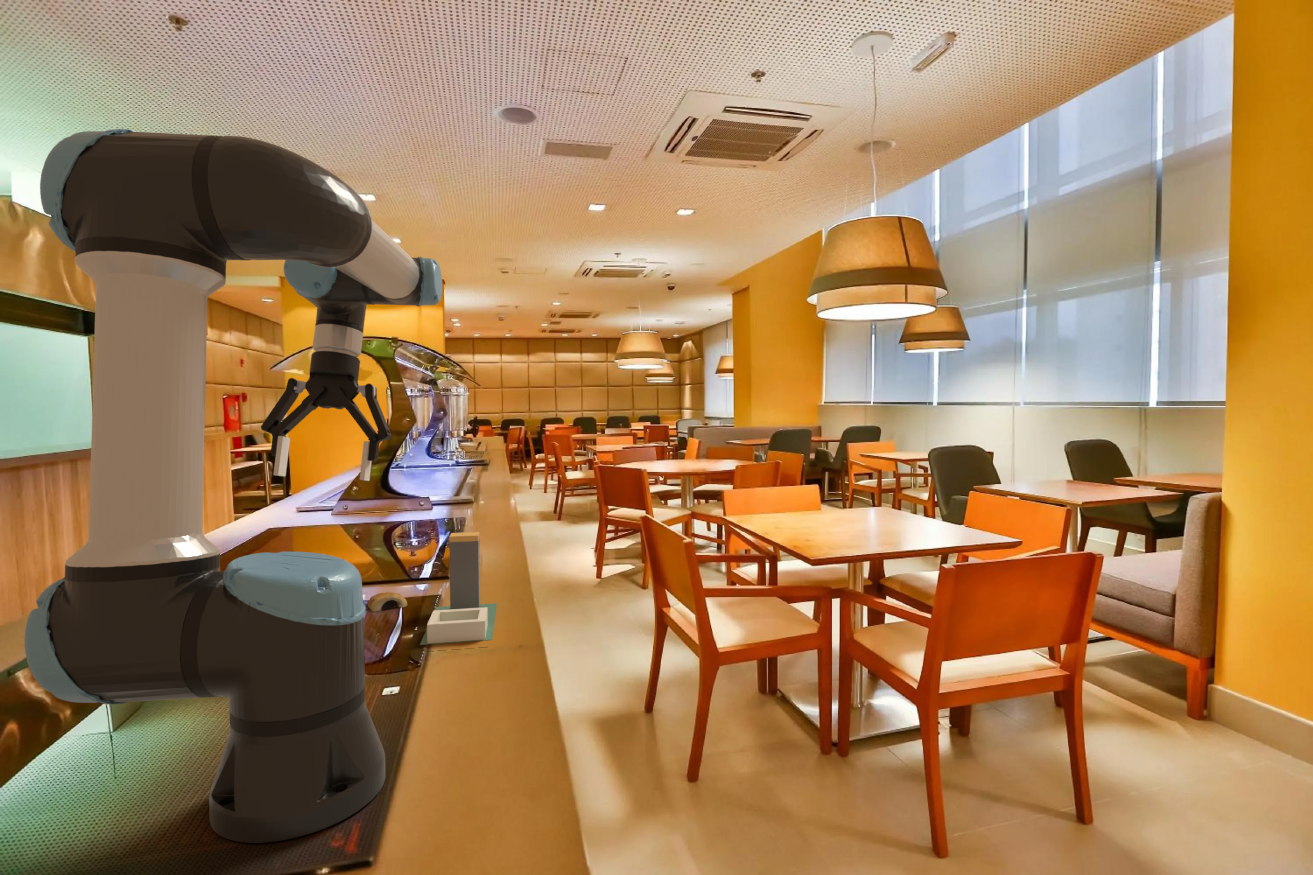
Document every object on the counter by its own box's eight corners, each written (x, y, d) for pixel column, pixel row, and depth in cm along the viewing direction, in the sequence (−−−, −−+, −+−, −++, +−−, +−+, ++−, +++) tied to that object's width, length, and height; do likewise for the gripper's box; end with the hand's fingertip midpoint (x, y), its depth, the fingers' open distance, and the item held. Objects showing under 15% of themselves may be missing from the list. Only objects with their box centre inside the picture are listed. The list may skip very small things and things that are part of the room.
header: (485, 639, 103) (484, 620, 103) (427, 643, 101) (427, 624, 101) (487, 624, 111) (487, 607, 110) (433, 627, 109) (433, 610, 109)
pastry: (362, 607, 125) (362, 587, 125) (399, 601, 129) (399, 582, 129) (372, 620, 117) (371, 599, 117) (410, 614, 121) (410, 593, 121)
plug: (479, 611, 117) (478, 535, 117) (450, 613, 116) (449, 536, 116) (480, 605, 121) (479, 531, 120) (452, 607, 120) (451, 532, 119)
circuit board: (492, 646, 103) (492, 639, 103) (419, 652, 101) (419, 644, 101) (497, 609, 123) (497, 603, 123) (436, 613, 121) (436, 606, 121)
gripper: (417, 365, 116) (405, 483, 113) (270, 354, 113) (254, 475, 111) (405, 355, 109) (393, 481, 106) (248, 343, 106) (231, 472, 103)
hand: (322, 478), depth 108 cm, fingers open, 13 cm apart
